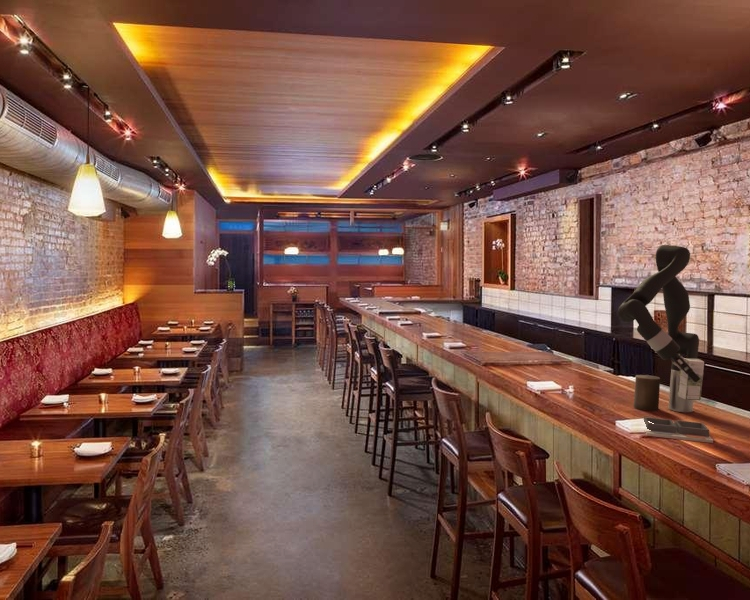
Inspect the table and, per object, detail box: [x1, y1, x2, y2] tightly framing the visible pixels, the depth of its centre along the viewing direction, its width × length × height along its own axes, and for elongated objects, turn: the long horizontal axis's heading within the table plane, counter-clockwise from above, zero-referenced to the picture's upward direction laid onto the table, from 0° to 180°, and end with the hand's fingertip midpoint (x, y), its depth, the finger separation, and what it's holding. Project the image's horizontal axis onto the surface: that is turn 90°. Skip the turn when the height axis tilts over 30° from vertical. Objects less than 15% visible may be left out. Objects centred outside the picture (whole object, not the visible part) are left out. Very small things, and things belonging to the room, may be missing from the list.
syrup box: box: [677, 357, 705, 401], centre depth 214 cm, size 6×6×14 cm
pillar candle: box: [633, 373, 661, 412], centre depth 250 cm, size 10×10×15 cm
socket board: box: [642, 416, 714, 444], centre depth 214 cm, size 14×21×4 cm, turn 73°
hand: (695, 378), depth 213 cm, fingers closed on syrup box, 7 cm apart
